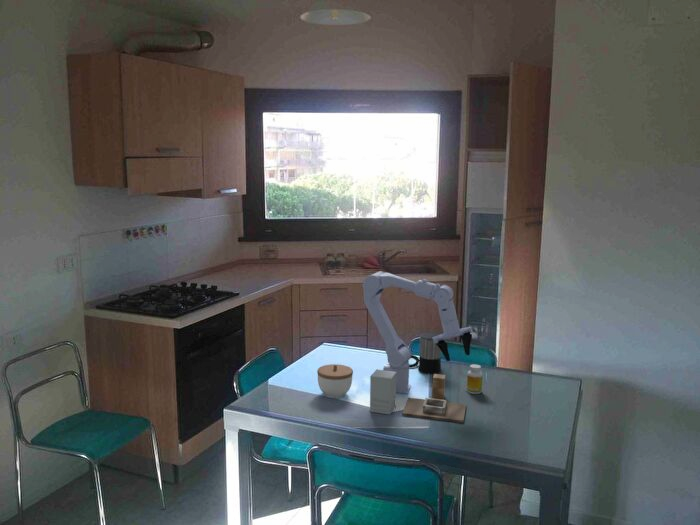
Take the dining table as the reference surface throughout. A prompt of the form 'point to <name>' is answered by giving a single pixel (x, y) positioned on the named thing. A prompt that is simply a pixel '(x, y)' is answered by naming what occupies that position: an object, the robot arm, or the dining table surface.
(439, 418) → the holder board
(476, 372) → the supplement bottle
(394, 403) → the supplement box
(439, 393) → the brown wooden block
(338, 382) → the lidded bowl
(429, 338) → the milk frother
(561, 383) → the dining table surface
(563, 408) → the dining table surface
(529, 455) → the dining table surface
